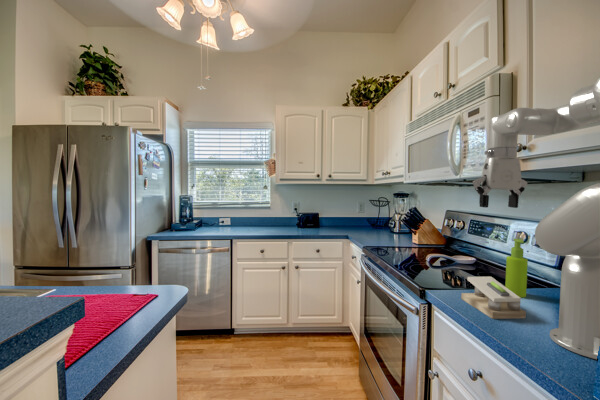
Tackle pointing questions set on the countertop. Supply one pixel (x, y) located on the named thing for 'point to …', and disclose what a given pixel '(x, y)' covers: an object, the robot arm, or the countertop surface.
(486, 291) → the white rectangular slab
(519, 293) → the soap dispenser
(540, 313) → the countertop surface
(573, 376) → the countertop surface
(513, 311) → the level base
